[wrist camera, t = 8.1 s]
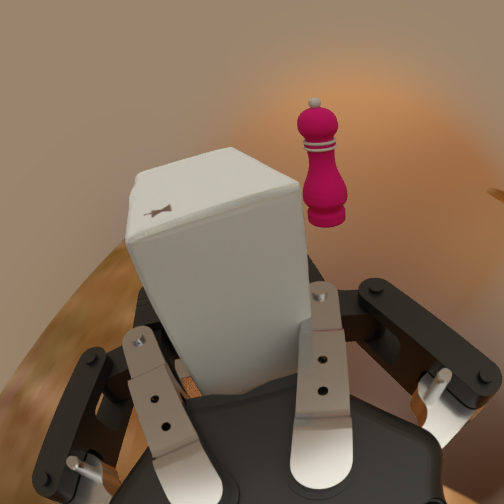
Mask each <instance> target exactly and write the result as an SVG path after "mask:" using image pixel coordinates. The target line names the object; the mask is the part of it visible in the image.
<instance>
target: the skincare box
mask: <svg viewBox="0 0 504 504" xmlns="http://www.w3.org/2000/svg"><path fill="white" fill-rule="evenodd" d="M125 242H126V246H127V249H128V251H129V254H130V256H131V259H132V261H133V264H134V266H135V269H136V271H137V274H138V276H139V278H140V281H141V283H142V285H143V287H144V289H145V291H146V294H147V296H148V298H149V300H150V302H151V304H152V306H153V308H154V310H155V312H156V314H157V316H158V318H159V319H160V321H161V323H162V325H163V327H164V329H165V331H166V333H167V335H168V337H169V339H170V340H171V342H172V344H173V346H174V347H175V349H176V351H177V353H178V355H179V357H180V359H181V360H182V362H183V364H184V366H185V368H186V369H187V371H188V373H189V374H190V376H191V378H192V379H193V381H194V383H195V384H196V386H197V388H198V389H199V391H200V392H201V394H202V396H206V395H211V394H228V395H237V394H244V393H246V392H248V391H250V390H253V389H255V388H257V387H259V386H261V385H263V384H264V383H266V382H268V381H271V380H274V379H278V378H282V377H285V376H289V375H292V374H295V373H298V356H299V333H300V331H301V322H302V321H304V320H306V319H308V318H309V317H311V304H310V288H309V274H308V258H307V247H306V235H305V222H304V213H303V204H302V193H301V186H300V184H299V182H297V181H296V180H294V179H292V178H290V177H288V176H286V175H284V174H282V173H280V172H278V171H276V170H274V169H272V168H270V167H269V166H267V165H265V164H263V163H261V162H259V161H257V160H256V159H253V158H252V157H250V156H248V155H246V154H244V153H242V152H240V151H238V150H236V149H234V148H233V147H228V148H224V149H220V150H216V151H212V152H208V153H205V154H200V155H197V156H193V157H190V158H187V159H183V160H180V161H176V162H173V163H170V164H166V165H163V166H159V167H156V168H153V169H150V170H146V171H143V172H141V173H139V174H137V176H136V178H135V183H134V188H133V189H132V190H131V193H130V196H129V212H128V221H127V227H126V235H125Z"/></svg>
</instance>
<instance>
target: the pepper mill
mask: <svg viewBox="0 0 504 504" xmlns="http://www.w3.org/2000/svg"><path fill="white" fill-rule="evenodd" d="M320 105H321V103H320V100H319V99H318V98H315V97H313V98H311V99H310V100H309V106H310V107H311V108H309V109H306V110H305V111H303V112H302V113H301V114H300V116H299V117H298V120H297V127H298V130H299V132H300V134H301V135H302V136H303V137H304V138H305V140H304V141H303V143H304V149H305V150H306V151H307V153H308V157H309V170H308V174H307V177H306V180H305V183H304V188H303V199H304V202H305V204H307V206H308V207H309V209H308V219H309V222H310V223H311V224H313V225H314V226H317V227H323V228H325V227H334V226H337V225H340V224H341V223H343V222H344V220H345V208H344V206H343V205H344V203H345V202H346V200H347V188H346V186H345V183H344V181H343V179H342V177H341V175H340V174H339V172H338V169H337V167H336V163H335V157H334V149H335V148H336V147H337V145H336V139H335V138H334V134H335V133H336V132H337V129H338V122H337V119H336V116H335V115H334V114H333V112H331V111H330V110H328V109H326V108H321V107H320Z"/></svg>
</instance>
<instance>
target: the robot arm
mask: <svg viewBox="0 0 504 504" xmlns="http://www.w3.org/2000/svg"><path fill="white" fill-rule="evenodd" d="M307 258H308V274H309V288H310V304H311V317H309V318H308V319H306V320H304V321H302V322H301V331H300V333H299V356H298V373H295V374H292V375H289V376H285V377H282V378H278V379H274V380H271V381H268V382H266V383H264V384H263V385H261V386H259V387H257V388H255V389H253V390H250V391H248V392H246V393H244V394H237V395H228V394H211V395H206V396H201V397H196V398H190V396H189V394H188V392H187V390H186V388H185V386H184V384H183V382H182V380H181V378H180V376H179V374H178V372H177V370H176V368H175V360H177V359H180V357H179V355H178V353H177V351H176V349H175V347H174V346H173V344H172V342H171V340H170V339H169V337H168V335H167V333H166V331H165V329H164V327H163V325H162V323H161V321H160V319H159V318H158V316H157V314H156V312H155V310H154V308H153V306H152V304H151V302H150V300H149V298H148V296H147V294H146V291H145V289H144V287H142V288H141V290H140V291H139V294H138V302H137V306H136V307H137V308H136V312H135V318H134V325H133V329H131V330H130V331H128V332H127V333H126V335H125V336H124V338H123V340H122V346H120V347H118V348H116V349H114V350H112V351H110V352H108V353H106V352H105V350H104V349H103V348H101V347H93V348H90V349H88V350H87V351H85V352H84V353H83V354H82V356H81V357H80V359H79V361H78V363H77V365H76V367H75V369H74V371H73V374H72V376H71V378H70V380H69V382H68V384H67V387H66V389H65V391H64V393H63V395H62V398H61V400H60V402H59V405H58V407H57V409H56V412H55V414H54V417H53V419H52V421H51V424H50V427H49V429H48V432H47V434H46V437H45V439H44V442H43V445H42V448H41V450H40V453H39V456H38V459H37V462H36V465H35V468H34V471H33V475H32V483H33V486H34V489H35V490H36V492H37V493H38V494H40V495H41V496H43V497H46V498H48V499H50V500H53V501H55V502H56V503H58V504H447V502H446V500H445V497H444V493H443V484H442V473H443V462H444V458H443V451H442V448H443V447H444V446H445V445H446V444H447V443H448V442H449V441H450V440H451V439H452V438H453V436H455V434H456V433H457V432H458V431H459V430H460V429H462V428H463V427H464V426H466V425H467V424H468V423H469V422H470V421H471V420H472V418H474V416H475V415H476V414H477V413H478V412H479V411H480V410H481V409H482V408H483V407H484V406H485V405H486V404H487V403H488V401H489V400H490V399H491V398H492V397H493V396H494V395H495V393H496V392H497V391H498V389H499V388H500V386H501V383H502V375H501V372H500V369H499V368H498V366H497V365H496V364H495V363H493V362H492V361H491V360H490V359H489V358H487V357H486V356H485V355H484V354H483V353H481V352H480V351H479V350H478V349H476V348H475V347H474V346H473V345H471V344H470V343H469V342H468V341H466V340H465V339H464V338H463V337H461V336H460V335H459V334H458V333H456V332H455V331H454V330H452V329H451V328H450V327H449V326H447V325H446V324H445V323H443V322H442V321H441V320H439V319H438V318H437V317H435V316H434V315H433V314H432V313H430V312H429V311H428V310H426V309H425V308H423V307H422V306H421V305H419V304H418V303H417V302H415V301H414V300H413V299H411V298H410V297H409V296H407V295H406V294H404V293H403V292H401V291H400V290H399V289H397V288H396V287H395V286H393V285H392V284H391V283H389V282H388V281H386V280H384V279H381V278H369V279H366V280H364V281H363V282H362V283H361V284H360V285H359V290H346V291H344V290H337V288H336V287H335V286H334V285H333V284H331V283H329V282H325V281H324V279H323V277H322V276H321V274H320V272H319V271H318V269H317V268H316V266H315V265H314V263H312V260H311V259H310V258H309V256H308V254H307ZM350 341H356V342H357V343H358V344H359V345H360V346H361V347H362V348H363V349H364V350H365V351H366V352H367V353H368V354H369V355H370V356H371V357H372V358H373V359H374V360H375V361H376V362H377V363H378V364H379V365H381V367H382V368H384V369H385V370H386V371H387V372H388V373H389V374H390V375H391V376H392V377H393V378H394V379H395V380H396V381H397V382H398V383H399V384H400V385H401V386H402V387H403V388H404V389H405V390H406V391H407V392H408V393H409V394H410V395H411V396H412V397H411V400H410V407H411V409H412V412H413V413H414V414H415V416H416V418H417V420H418V426H417V425H415V424H413V423H410V422H408V421H406V420H404V419H401V418H399V417H397V416H395V415H392V414H390V413H388V412H386V411H384V410H382V409H380V408H377V407H375V406H373V405H371V404H369V403H367V402H365V401H363V400H361V399H359V398H357V397H355V396H353V395H351V394H349V381H348V368H347V356H346V344H345V342H350ZM101 393H103V394H104V396H103V399H102V402H101V404H100V407H99V410H98V412H97V415H96V414H95V409H96V406H97V403H98V401H99V398H100V395H101ZM133 406H135V409H136V412H137V415H138V418H139V421H140V424H141V427H142V429H143V432H144V435H145V437H146V440H147V443H148V445H149V446H148V447H147V449H146V450H145V452H144V453H143V454H142V456H141V457H140V459H139V460H138V462H137V463H136V464H135V466H134V467H133V469H132V470H131V472H130V473H129V474H128V476H127V477H126V479H125V480H124V481H123V483H122V484H121V481H120V480H119V476H118V473H117V471H116V469H115V468H116V464H117V460H118V457H119V453H120V450H121V446H122V443H123V439H124V436H125V432H126V429H127V426H128V422H129V419H130V416H131V413H132V409H133Z"/></svg>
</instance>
